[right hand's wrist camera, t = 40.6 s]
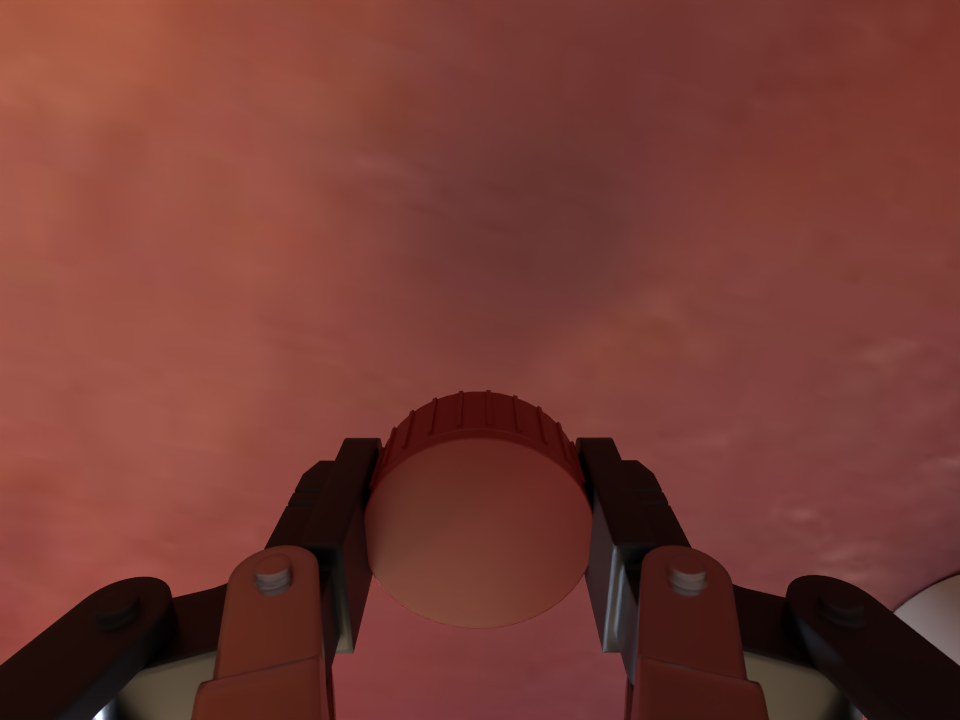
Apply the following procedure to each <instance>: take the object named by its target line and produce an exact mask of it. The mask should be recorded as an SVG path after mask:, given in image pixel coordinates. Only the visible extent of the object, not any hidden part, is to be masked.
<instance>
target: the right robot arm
mask: <svg viewBox="0 0 960 720" xmlns="http://www.w3.org/2000/svg"><path fill="white" fill-rule="evenodd" d="M381 447H382V443H381V440H380V438H345V440H344V441H343V444H342V446H341V448H340V450H339V453H338V455H337V457H336V459H335V461H319V462H318V463H316V464H315V465H314V466H313V467H311V468H310V469H309V470H308V471H307V472H305V473H304V474H303V475H302V477H301V479H300V481H299V483H298V485H297V487H296V489H295V493H293V495H292V497H291V499H290V500H289V502H288V506H286V508H285V510H284V512H283V514H282V516H281V518H280V520H279V522H278V524H277V525H276V527H275V529H274V531H273V533H272V535H271V537H270V539H269V541H268V543H267V545H266V547H265V548H264V550H261V551H259V552H257V553H255V554H253V555H251V556H249V557H248V558H246V559H245V560H244V561H242V562H241V563H240V564H239V565H238V566H237V567H236V568H235V569H234V571H233V572H232V574H231V576H230V577H229V581H228V583H226V584H224V585H221V586H219V587H216V588H212V589H209V590H205V591H200V592H196V593H192V594H188V595H183V596H179V597H175V598H172V594H171V591H170V588H169V586H168V585H167V584H166V583H165V582H164V581H162V580H160V579H157V578H153V577H134V578H129V579H125V580H121V581H118V582H115V583H112V584H110V585H108V586H105V587H103V588H101V589H99V590H98V591H96V592H94V593H93V594H91V595H90V596H88V597H87V598H85V599H84V600H83V601H81V602H80V603H79V604H78V605H76V606H75V607H74V608H73V609H71V610H70V611H69V612H68V613H66V614H65V615H64V616H62V617H61V618H60V619H59V620H57V621H56V622H55V623H54V624H52V625H51V626H50V627H49V628H47V629H46V630H45V631H43V632H42V633H41V634H40V635H38V636H37V637H36V638H35V639H33V640H32V641H31V642H30V643H28V644H27V645H26V646H24V647H23V648H22V649H21V650H19V651H18V652H17V653H16V654H14V655H13V656H12V657H11V658H9V659H8V660H7V661H5V662H4V663H3V664H2V665H0V720H92V719H93V720H336V709H335V693H334V682H333V674H332V664H333V660H334V657H335V653H354V649H355V645H356V641H357V636H358V632H359V628H360V624H361V620H362V616H363V612H364V608H365V604H366V599H367V595H368V591H369V587H370V583H371V579H372V575H373V573H372V571H371V569H370V567H369V564H368V554H367V543H366V531H365V520H364V511H365V507H366V503H367V500H368V497H369V494H370V491H371V490H370V489H368V487H369V484H370V481H371V478H372V475H373V471H374V468H375V465H376V462H377V459H378V456H379V453H380V450H381ZM575 448H576V451H577V455H578V458H579V461H580V464H581V468H582V471H583V474H584V477H585V481H586V483H584V484H585V487H586V491H587V494H588V497H589V501H590V504H591V507H592V511H593V518H592V530H591V542H590V553H589V564H588V567H587V569H586V571H585V573H584V575H585V579H586V583H587V587H588V591H589V596H590V600H591V604H592V608H593V613H594V617H595V621H596V625H597V630H598V634H599V638H600V642H601V646H602V651H603V652H621V655H622V659H623V663H624V666H625V670H626V673H627V682H626V693H625V709H624V720H861V719H862V716H863V715H864V716H865V717H866V718H867V719H868V720H960V665H958V664H957V663H956V662H955V661H953V660H952V659H951V658H949V657H948V656H947V655H946V654H944V653H943V652H942V651H941V650H939V649H938V648H937V647H936V646H934V645H933V644H932V643H930V642H929V641H928V640H927V639H925V638H924V637H923V636H922V635H920V634H919V633H918V632H917V631H915V630H914V629H913V628H911V627H910V626H909V625H908V624H906V623H905V622H904V621H903V620H901V619H900V618H899V617H898V616H896V615H895V614H894V613H892V612H891V611H890V610H889V609H887V608H886V607H885V606H884V605H882V604H881V603H880V602H879V601H877V600H876V599H875V598H873V597H872V596H871V595H869V594H868V593H866V592H865V591H863V590H861V589H860V588H858V587H856V586H854V585H852V584H850V583H847V582H845V581H842V580H839V579H836V578H832V577H827V576H820V575H807V576H802V577H799V578H796V579H795V580H793V581H792V582H791V583H790V584H789V586H788V589H787V593H786V597H785V598H784V597H780V596H776V595H772V594H767V593H763V592H759V591H755V590H750V589H746V588H743V587H739V586H737V585H734V584H732V581H731V577H730V576H729V574H728V572H727V571H726V569H725V568H724V567H723V566H722V565H721V564H720V563H719V562H718V561H716V560H715V559H714V558H712V557H711V556H709V555H707V554H705V553H703V552H701V551H699V550H696V549H693V548H691V546H690V544H689V542H688V540H687V538H686V536H685V534H684V532H683V530H682V528H681V526H680V524H679V522H678V520H677V518H676V516H675V514H674V512H673V511H672V509H671V507H670V506H669V505H668V501H667V499H666V497H665V495H664V493H663V492H662V489H661V487H660V485H659V483H658V481H657V479H656V477H655V475H654V474H653V473H652V472H651V471H650V470H648V469H647V468H646V467H645V466H643V465H642V464H641V463H640V462H639V461H637V460H622V459H621V457H620V455H619V453H618V450H617V448H616V446H615V443H614V441H613V439H612V438H577V440H576V444H575Z"/></svg>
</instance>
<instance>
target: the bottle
mask: <svg viewBox="0 0 960 720" xmlns="http://www.w3.org/2000/svg"><path fill="white" fill-rule="evenodd" d="M894 614H895V615H896V616H898V617H899V618H900V619H901V620H903V621H904V622H905V623H906V624H908V625H909V626H910V627H911V628H913V629H914V630H915V631H917V632H918V633H919V634H920V635H922V636H923V637H924V638H925V639H927V640H928V641H929V642H930V643H932V644H933V645H934V646H936V647H937V648H938V649H939V650H941V651H942V652H943V653H944V654H946V655H947V656H948V657H949V658H951V659H952V660H953V661H955V662H956V663H957V664H958V665H960V574H959V575H956V576H953V577H950V578H948V579H945V580H943V581H941V582H939V583H936V584H934V585H932V586H930V587H928V588H927V589H925V590H923V591H921V592H920V593H918V594H917V595H915V596H914V597H912V598H911V599H909V600H908V601H906V602H905V603H904V604H903V605H902V606H900V607H899V608H898V609H897V610H896V611H895V612H894Z"/></svg>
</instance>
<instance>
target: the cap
mask: <svg viewBox="0 0 960 720" xmlns="http://www.w3.org/2000/svg"><path fill="white" fill-rule="evenodd" d="M584 483H586V481H585V477H584V474H583V471H582V468H581V464H580V461H579V458H578V455H577V451H576V448H575V445H574V442H573V441H572V442H570V441H569V439H568V438H567V436H566V434H565V433H564V432H563V430H562V427H561V424H560V423H559V422H557V423H556V422H555V421H554V420H552V419H551V418H550V417H549V416H548V415H547V414H545V413H544V412H543V411H542V409H541V407H539V406H538V407H535V406H533V405H531V404H529V403H527V402H525V401H523V400H520V399H518V397H517V396H515V395H513V397H512V396H508V395H504V394H499V393H492V392H491V390H486V392H465V393H463V391H459V393H458V394H454V395H449V396H445V397H443V398H440V399H437V398H434V399H433V400H432V402H430V403H428V404H426V405H424V406H422V407H420V408H419V409H418V410H416V411H414V410H412V411H411V412H410V414H409V416H408V417H407V418H406V419H405V420H404V421H403V422H401V423H400V425H399V426H398V427H397V428H396V427H394V428H393V429H392V432H391V435H390V438H389V440H388V441H387V443H386V445H385V448H383V447H381V450H380V453H379V456H378V459H377V462H376V465H375V468H374V471H373V475H372V478H371V481H370V484H369V487H368V489H370V490H371V491H370V494H369V497H368V500H367V503H366V507H365V511H364V520H365V531H366V543H367V554H368V564H369V567H370V569H371V571H372V573H373V575H374V576H375V578H376V580H377V581H378V582H379V584H380V585H381V586H382V587H383V589H384V590H385V591H386V592H387V593H388V594H389V595H390V596H391V597H392V598H393V599H395V600H396V601H397V602H398V603H400V604H401V605H402V606H404V607H405V608H407V609H409V610H410V611H412V612H414V613H415V614H417V615H420V616H422V617H424V618H426V619H429V620H432V621H435V622H438V623H441V624H445V625H449V626H454V627H462V628H477V629H485V628H496V627H503V626H508V625H513V624H516V623H519V622H523V621H526V620H528V619H531V618H533V617H535V616H538V615H540V614H541V613H543V612H545V611H547V610H549V609H550V608H552V607H553V606H554V605H556V604H557V603H559V602H560V601H561V600H562V599H563V598H565V597H566V596H567V595H568V594H569V593H570V592H571V591H572V590H573V588H574V587H575V586H576V585H577V584H578V582H579V581H580V579H581V578H582V576H583V575H584V573H585V571H586V569H587V567H588V564H589V553H590V542H591V530H592V518H593V511H592V507H591V504H590V501H589V497H588V494H587V491H586V487H585V484H584Z"/></svg>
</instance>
